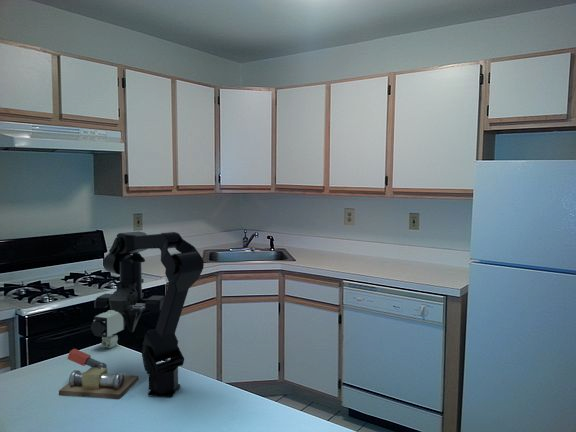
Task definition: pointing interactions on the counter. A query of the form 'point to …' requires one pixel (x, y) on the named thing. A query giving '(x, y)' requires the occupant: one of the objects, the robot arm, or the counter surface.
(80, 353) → the lever
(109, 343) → the pneumatic valve
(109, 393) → the mounting board
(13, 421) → the counter surface
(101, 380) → the valve body
